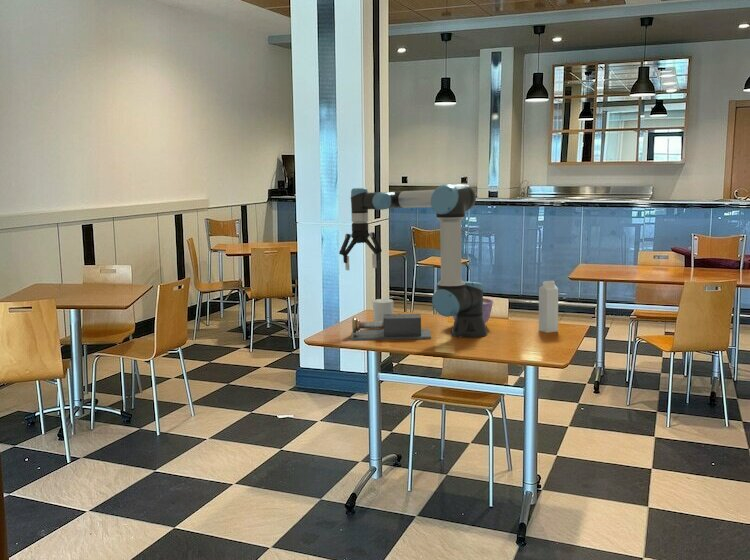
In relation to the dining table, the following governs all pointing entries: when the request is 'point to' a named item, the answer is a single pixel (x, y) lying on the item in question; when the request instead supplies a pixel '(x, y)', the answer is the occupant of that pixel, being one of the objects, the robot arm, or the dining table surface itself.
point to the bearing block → (396, 329)
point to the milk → (548, 307)
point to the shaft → (365, 325)
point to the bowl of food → (485, 309)
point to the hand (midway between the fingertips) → (361, 269)
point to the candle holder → (382, 308)
